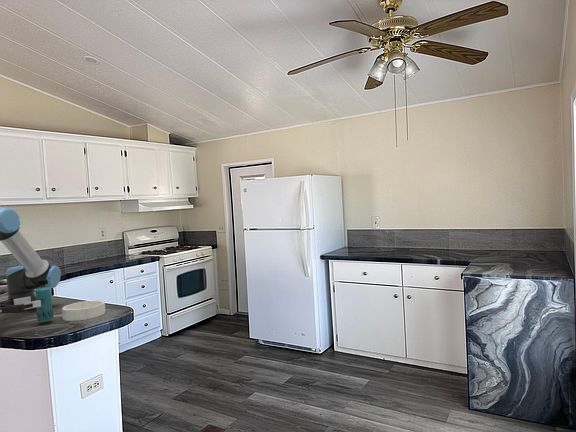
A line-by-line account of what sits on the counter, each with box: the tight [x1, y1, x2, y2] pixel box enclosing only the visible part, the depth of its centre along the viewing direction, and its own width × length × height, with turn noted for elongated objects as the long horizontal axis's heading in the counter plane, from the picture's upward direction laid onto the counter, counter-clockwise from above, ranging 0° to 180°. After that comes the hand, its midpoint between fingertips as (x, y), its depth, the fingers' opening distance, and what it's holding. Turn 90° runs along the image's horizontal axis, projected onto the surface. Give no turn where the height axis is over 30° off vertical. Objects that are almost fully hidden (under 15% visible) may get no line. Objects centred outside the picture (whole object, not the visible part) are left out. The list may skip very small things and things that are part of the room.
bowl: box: [61, 300, 106, 322], centre depth 199 cm, size 18×18×5 cm
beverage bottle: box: [34, 279, 54, 323], centre depth 188 cm, size 6×7×20 cm
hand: (35, 301), depth 185 cm, fingers open, 13 cm apart
